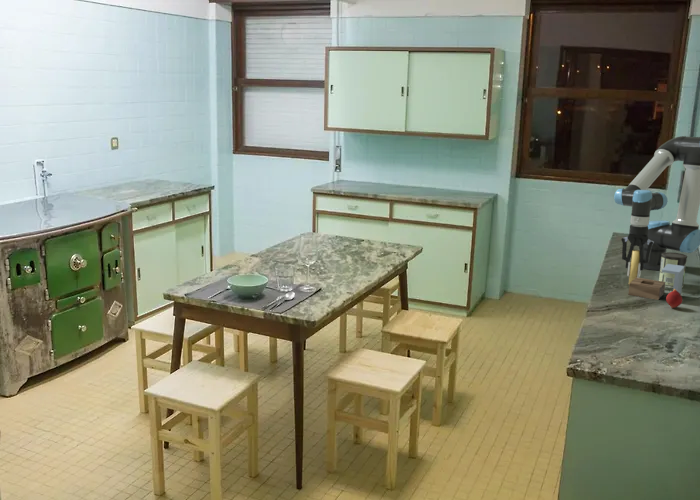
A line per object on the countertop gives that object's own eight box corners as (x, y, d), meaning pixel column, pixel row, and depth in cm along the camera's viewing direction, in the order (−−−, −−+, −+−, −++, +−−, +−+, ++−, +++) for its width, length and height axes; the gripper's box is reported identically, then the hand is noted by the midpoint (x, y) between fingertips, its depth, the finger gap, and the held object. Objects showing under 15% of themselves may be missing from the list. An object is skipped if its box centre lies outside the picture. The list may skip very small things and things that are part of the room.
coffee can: (679, 282, 301) (683, 252, 297) (686, 289, 291) (690, 258, 287) (655, 281, 303) (659, 251, 299) (661, 287, 293) (665, 257, 289)
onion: (680, 306, 267) (682, 287, 265) (682, 311, 261) (684, 291, 259) (664, 305, 268) (666, 286, 267) (665, 309, 263) (668, 290, 261)
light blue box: (664, 293, 285) (667, 263, 282) (680, 295, 281) (684, 266, 278) (658, 299, 275) (662, 269, 272) (675, 302, 272) (679, 272, 268)
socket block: (634, 288, 291) (635, 277, 290) (664, 293, 285) (665, 281, 284) (628, 294, 282) (629, 283, 281) (658, 299, 275) (659, 288, 274)
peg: (629, 283, 299) (633, 249, 295) (637, 284, 297) (641, 250, 293) (627, 285, 296) (631, 250, 292) (635, 286, 294) (639, 251, 290)
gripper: (617, 224, 292) (612, 275, 297) (657, 228, 282) (651, 281, 288) (621, 221, 298) (616, 271, 303) (661, 226, 288) (655, 277, 294)
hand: (633, 276), depth 296 cm, fingers closed on peg, 3 cm apart
